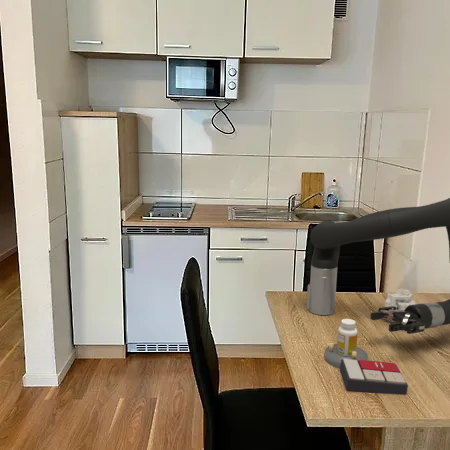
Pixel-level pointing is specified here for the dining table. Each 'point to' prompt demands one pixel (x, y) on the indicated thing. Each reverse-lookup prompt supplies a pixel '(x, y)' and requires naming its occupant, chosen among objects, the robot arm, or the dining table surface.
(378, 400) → the dining table surface
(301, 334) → the dining table surface
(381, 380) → the calculator
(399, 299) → the mechanical part
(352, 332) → the supplement bottle
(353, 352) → the pin base
